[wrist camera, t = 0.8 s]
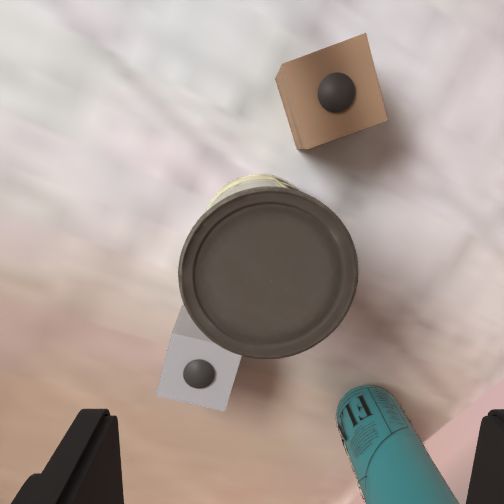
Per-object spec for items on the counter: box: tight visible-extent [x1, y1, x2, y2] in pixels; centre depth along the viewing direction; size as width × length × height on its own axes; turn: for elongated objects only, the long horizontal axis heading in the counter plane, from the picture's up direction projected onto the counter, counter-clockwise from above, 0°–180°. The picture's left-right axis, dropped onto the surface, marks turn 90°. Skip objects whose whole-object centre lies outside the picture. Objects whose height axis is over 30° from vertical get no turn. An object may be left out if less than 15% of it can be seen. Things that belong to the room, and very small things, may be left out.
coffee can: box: [178, 174, 358, 359], centre depth 30 cm, size 10×10×14 cm
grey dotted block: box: [156, 305, 242, 412], centre depth 36 cm, size 6×6×6 cm
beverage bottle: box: [336, 385, 459, 504], centre depth 31 cm, size 6×7×20 cm
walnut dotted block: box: [275, 33, 388, 149], centre depth 31 cm, size 6×6×6 cm
